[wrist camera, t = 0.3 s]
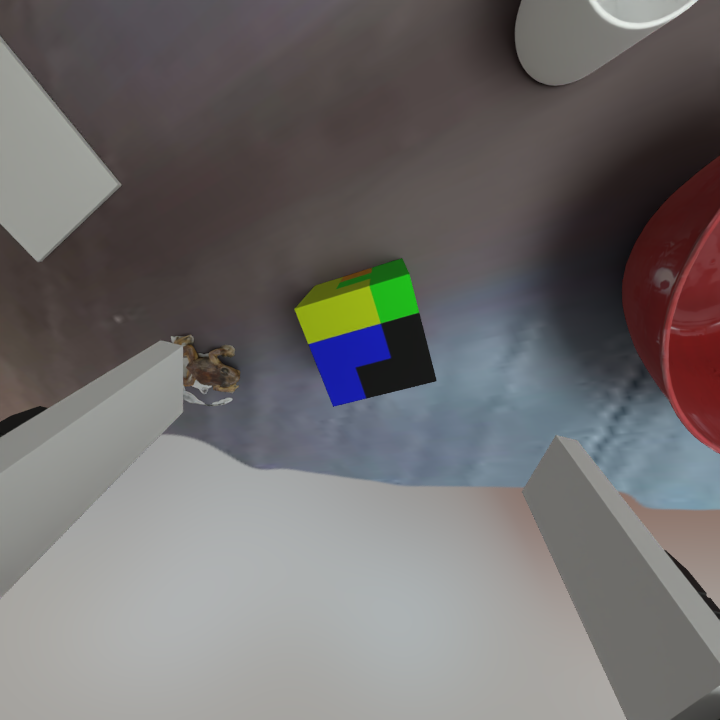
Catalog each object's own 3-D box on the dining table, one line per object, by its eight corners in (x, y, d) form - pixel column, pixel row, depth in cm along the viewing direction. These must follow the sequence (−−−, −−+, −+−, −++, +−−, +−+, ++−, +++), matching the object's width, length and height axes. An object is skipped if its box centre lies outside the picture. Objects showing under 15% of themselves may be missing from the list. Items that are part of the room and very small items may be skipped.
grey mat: (-99, 116, 33) (-105, 115, 33) (-22, 9, 30) (-28, 5, 29) (41, 261, 38) (37, 262, 38) (121, 185, 35) (118, 184, 34)
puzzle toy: (343, 363, 42) (333, 406, 32) (315, 285, 38) (294, 308, 29) (423, 342, 40) (436, 381, 31) (402, 258, 36) (409, 273, 27)
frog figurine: (246, 320, 41) (233, 331, 37) (255, 407, 45) (245, 423, 42) (152, 316, 41) (131, 326, 37) (171, 402, 46) (154, 418, 42)
